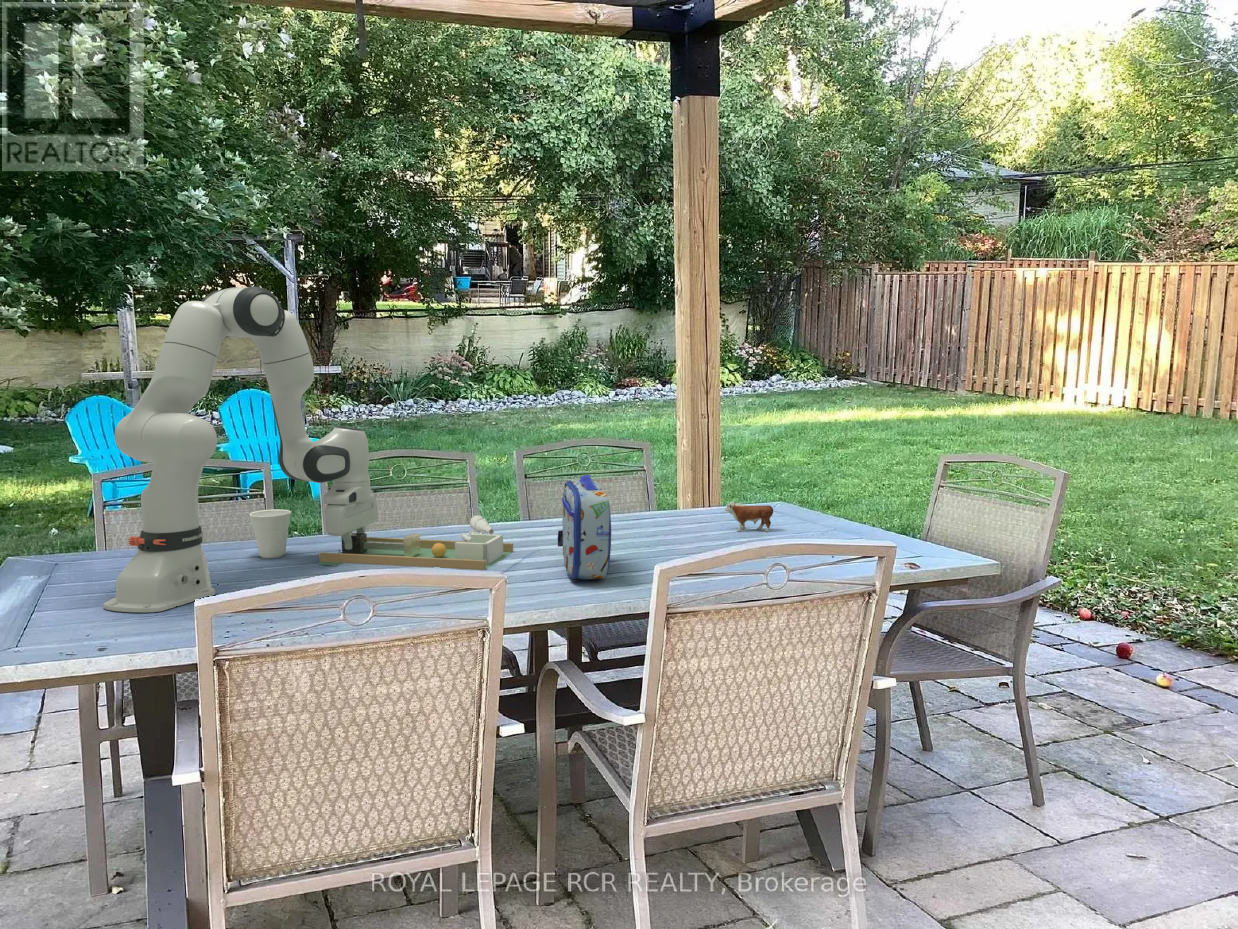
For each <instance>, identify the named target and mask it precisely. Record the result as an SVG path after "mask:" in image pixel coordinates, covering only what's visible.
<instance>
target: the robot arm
mask: <svg viewBox="0 0 1238 929" xmlns="http://www.w3.org/2000/svg"><path fill="white" fill-rule="evenodd" d="M274 294H275V293H273V292H272V291H269V289H266V288H263V287H261V286H260V287H259V286H247V287H246V286H245V287H243V286H242V287H239V286H238V287H237V286H235V287H234V286H233V287H229V288H224V289H220V290H218V289H217V290H215V291H212V292H210V293H208V295H206V296H205V297H203V298H202V299H201V301H200V300H191V301H186V302H184V303H182V304H181V305H180V306H179V307H178V308H177V310H176V312H175V314H174V316H173V318H172V320H171V321H170V323H169V326H168V328H167V332H166V333H165V334H166V335H165V336H164V340H163V343H162V346H161V350H160V353H159V356H158V360H157V363H156V366H155V370H154V372H153V374H152V377H151V380H150V382H149V383H148V385H147V387H146V388H145V390H144V392H143V394H142V395H141V397H140V398H139V400H138V402H137V403H136V405H135V406H134V407H133V409H132V410H131V411H130V412H129V413H127V415H125V416H124V417H123V418H122V419H121V420H119V422H118V424H117V425H116V427H115V429H114V430H115V431H114V440H115V441H114V442H115V444H116V447H117V448H118V450H120V452H121V453H123V454H124V455H125V456H128V457H130V458H132V459H133V460H136V461H139V462H143V463H152V470H151V476H150V480H149V482H148V484H147V486H146V487H145V488H144V489H143V490H142V492H141V494H140V508H141V509H140V510H141V523H142V530H141V531H140V535H139V536H133V535H131V536H130V537H129V538H128V540H127V542H128V545H129V546H130V547H134V546H137V549H138V550H137V551H136V553H135V554H134V556H133V557H132V558H131V559H130V561H129V562H128V563H127V565H126V566H125V567H124V568H123V569H122V571H121V572H120V573H119V574H118V576H117V577H116V580H115V581H116V583H115V597H113V598H111V599H109V600H107V601H105V602H103V606H102V608H103V609H105V610H108V611H113V612H123V613H155V612H156V613H157V612H163V611H166V610H169V609H173V608H175V607H176V606H177V607H180V606H183V605H186V604H189V603H192V602H195V601H194V600H195V599H198V598H200V597H205V596H209V597H212V596H214V595H216V589H215V588H213V587H212V583H211V575H210V572H209V564H208V559H207V556H206V554H205V552H204V551H203V548H202V543H203V530H202V526H201V525H200V517H199V516H200V515H199V514H200V513H199V486H200V481H201V477H202V473H203V470H204V467H205V466H206V463H207V462H208V460H210V459H211V457H212V456H213V454H214V453H215V452H216V449H217V445H218V436H217V432H216V430H215V428H214V426H213V425H212V424H211V423H210V422H209V421H207V420H206V419H204V418H201V417H199V416H197V415H195V414H191V413H190V412H191V410H192V409H193V407H194V406H195V405H196V404H197V402H199V401H200V400H201V399H203V398H204V397H205V396H206V395H207V394H208V392H209V390H210V385H211V382H212V379H213V375H214V373H215V372H214V371H215V368H216V364H217V361H218V357H219V352H220V349H221V345H222V343H223V341H224V340H225V339H226V338H239V339H243V338H250V339H251V340H252V341H253V342H254V344H255V345H256V347H257V349H258V354H259V358H260V361H261V365H262V368H263V372H264V375H265V378H266V382H267V384H268V389H269V395H270V399H271V407H272V411H273V415H274V419H275V424H276V426H277V432H278V433H277V434H278V437H279V452H278V463H279V467H280V470H281V471H282V473H283V474H284V475H285V476H287V477H288V478H290V479H292V480H294V481H295V480H296V481H305V482H309V483H315V484H321V483H322V484H323V483H327V482H330V481H332V486H331V488H330V489H329V490H328V491H326V493H325V494H324V495H323V504H325V505H326V506H325V509H324V518H325V520H324V521H325V522H324V523H325V529H326V532H327V535H328V536H331V537H332V536H333V537H341V536H342V538H343V541H344V542H345V549H348V550H350V549H353V548H354V541H352V538H351V536H352V533H353V532H355V531H356V533H366V530H367V526H370V525H372V524H374V523H377V522H378V518H379V510H378V501H377V497H376V495H375V494H374V490H372V488H371V476H370V474H369V465H370V451H369V450H370V449H369V442H368V437H367V435H366V433H365V431H364V430H362V429H360V428H357V427H350V426H349V427H348V426H343V425H341V426H335V427H334V428H333V429H332V430H331V431H330V432H329V433H327V434H326V435H325V436H323V437H321V438H320V439H317V440H315V441H312V439H311V438H310V437H309V435H308V433H307V431H306V426H305V421H304V416H303V411H302V407H301V401H302V397H303V395H304V393H305V392H306V391H308V390H309V389H310V387H311V386H312V384H313V382H314V380H315V368H314V363H313V357H312V354H311V351H310V348H309V345H308V342H307V338H306V336H305V334H304V331H303V329H302V326H301V325H300V323H299V321H298V319H297V317H296V316H295V314H293V312H291V311H289V310H287V309H286V310H285V309H284V307H282V305H281V303H280V301H279V299H278V298H277V296H276V295H274Z"/></svg>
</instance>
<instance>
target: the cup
mask: <svg viewBox="0 0 1238 929" xmlns="http://www.w3.org/2000/svg"><path fill="white" fill-rule="evenodd" d="M291 514H292V511H291V510H289V509H279V508H278V509H263V510H261V509H260V510H256V511H252V512H250V513H249V514H248V515H249V517H250V521H251V525H252V528H253V531H254V532H253V533H254V537H255V541H256V545H257V546H256V547H257V551H258V554H259V557H260V558H262V559H277V558H278V559H279V558H282V557H284V556H285V555H286V553H287V552H286V550H287V543H288V535H289V534H288V533H289V527H290V526H289V525H290V518H291ZM283 555H284V556H283ZM281 556H282V557H281Z"/></svg>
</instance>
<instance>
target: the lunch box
mask: <svg viewBox="0 0 1238 929" xmlns="http://www.w3.org/2000/svg"><path fill="white" fill-rule="evenodd" d="M561 496H562V498H561V501H562V507H563V508H562V523H561V524H562V529H560V530H558V532H557V547H558V548H559V547H562V555H563V556H562V558H563V563H564V568H565V571H566V573H567V576H568V577H569V578H570V579H572V580H604V579H605V578H606V577H607V575H608V572H609V569H610V562H611V561H610V560H611V551H612V518H611V506H610V502H609V497H608V495H607V493H606V492H605V490H603V488H602V487H601V486H600V484H599V483H598V481H597V480H592V477H591V474H585V475H580V476H579V480H576V479H570V480H567V481H565V483H564V486H563V492H561Z"/></svg>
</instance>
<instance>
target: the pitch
mask: <svg viewBox="0 0 1238 929" xmlns="http://www.w3.org/2000/svg"><path fill="white" fill-rule="evenodd" d="M367 541H373V542H395V543H404V538H398V537H396V538H395V537H377V536H373V537H372V536H367ZM456 542H467V543H471V542H468V541H466V540H462V541H461V540H446V539H445V540H442V539H423V538H422V539H421V538H420V549H421V553H419V554H417V555H415V556H413V557H406V556H404V551H398V550H377V549H367V552H364V553H362V554H347V553H342V551H340V552H324V551H323V552H319V553H318V558H319V561H318V562H319V563H318V564H319V566H320V565H336V566H335V567H338V566H340V565H343V564H357V565H358V564H361V565H374V566H376V565H377V566H378V565H379V566H380V565H381V566H395V567H396V566H397V567H398V566H399V567H415V568H417V567H418V568H434V567H440V568H439V569H457V570H458V569H459V570H477V571H486V570H487V569H489V568H490V567H492V566H493V565H494V564H496V563H498V562H500V561H501V560H502V559H504V558H505V557H507V556H509V555H510V554H512V553H513V552H514V543H510V542H509V543H508V542H503V556H501V557H500V558H498V559H496V560H495V561H493V562H492V563H490V564H489V565H486V560H467V559H455V543H456ZM437 543H442V544H443V545H445V547H446V553H445V555H444V556H443V557H435V556H434V555H433V554H432V547H433V546H434V545H435V544H437Z"/></svg>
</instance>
